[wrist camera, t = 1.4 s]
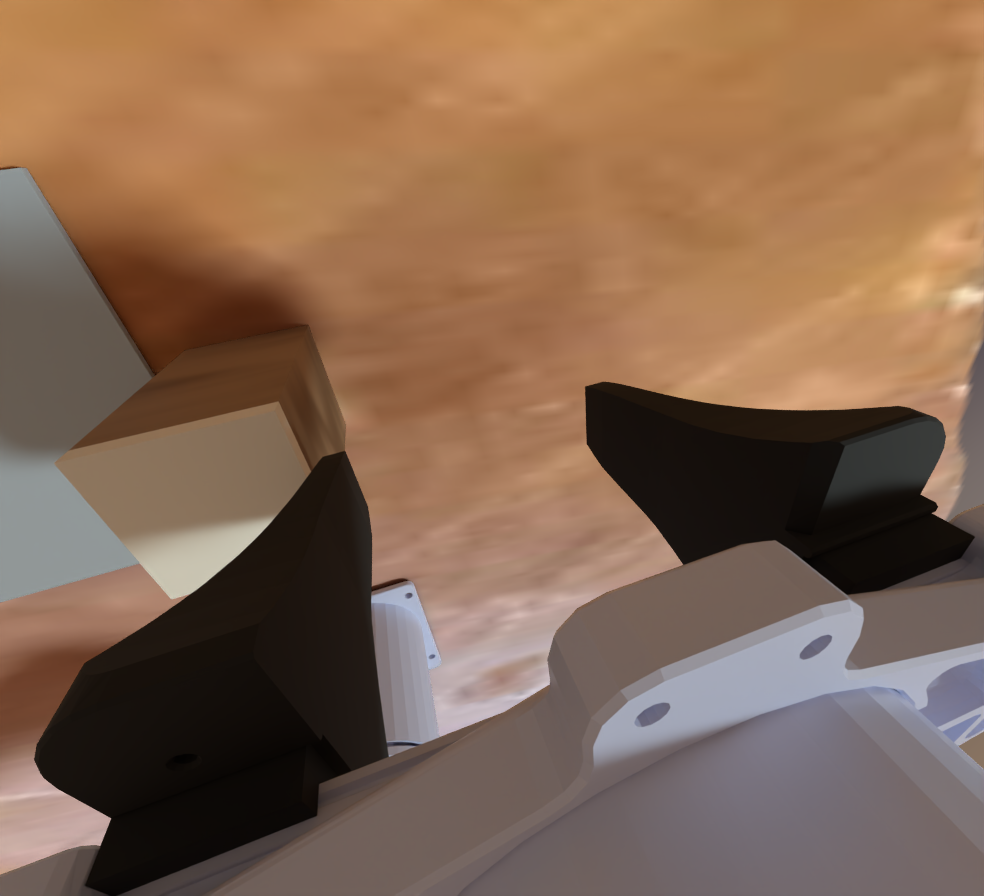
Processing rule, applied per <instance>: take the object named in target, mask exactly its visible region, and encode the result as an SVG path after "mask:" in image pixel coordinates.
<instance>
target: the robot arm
mask: <svg viewBox="0 0 984 896" xmlns="http://www.w3.org/2000/svg"><path fill="white" fill-rule="evenodd" d="M585 396H586V434H587V445H588V446H589V448H590V450H591V451H592V453H593V454H594V456H595V457H596V459H597V460H598V462H599V463H600V464H601V466H602V467H603V468H604V470H605V471H606V472H607V473H608V474H609V475H610V476H611V477H612V478H613V480H614V481H615V482H616V483H617V484H618V485H619V486H620V487H621V488H622V489H623V490H624V491H625V493H626V494H627V495H628V496H629V497H630V498H631V499H632V500H633V501H634V502H635V503H636V504H637V505H638V507H639V508H640V509H641V510H642V511H643V512H644V513H645V514H646V515H647V516H648V518H649V519H650V520H651V521H652V522H653V523H654V525H655V526H656V527H657V529H658V530H659V531H660V533H661V534H662V535H663V537H664V538H665V539H666V541H667V542H668V544H669V545H670V546H671V548H672V549H673V550H674V552H675V553H676V555H677V556H678V558H679V559H680V561H681V562H682V563H683V565H682V566H679V567H677V568H674V569H671V570H668V571H665V572H663V573H660V574H657V575H654V576H651V577H648V578H646V579H643V580H640V581H637V582H634V583H632V584H629V585H626V586H623V587H620V588H617V589H615V590H612V591H609V592H606V593H605V594H603V595H601V596H599V597H597V598H595V599H594V600H592V601H590V602H588V603H586V604H584V605H583V606H581V607H579V608H577V609H576V610H575V611H574V613H573V614H572V615H571V616H570V617H569V618H568V619H567V620H566V621H565V622H564V623H563V624H562V625H561V626H560V628H559V629H558V630H557V631H556V633H555V635H554V638H553V641H552V645H551V649H550V652H549V656H548V667H549V675H550V685H548V686H547V687H545V688H543V689H542V690H540V691H538V692H537V693H535V694H533V695H532V696H530V697H528V698H527V699H525V700H523V701H522V702H520V703H519V704H517V705H515V706H514V707H512V708H510V709H509V710H507V711H505V712H503V713H501V714H498V715H495V716H493V717H490V718H488V719H485V720H483V721H480V722H477V723H475V724H472V725H470V726H467V727H465V728H462V729H459V730H457V731H454V732H452V733H449V734H447V735H444V736H441V737H439V731H438V724H437V718H436V712H435V705H434V699H433V693H432V687H431V680H430V674H429V670H431V669H433V668H436V667H438V666H439V665H440V664H441V658H440V655H439V652H438V649H437V647H436V644H435V641H434V638H433V636H432V633H431V630H430V627H429V625H428V622H427V619H426V616H425V614H424V611H423V608H422V605H421V603H420V600H419V597H418V594H417V592H416V589H415V586H414V584H413V582H411V581H404V582H401V583H398V584H395V585H391V586H388V587H385V588H382V589H379V590H376V591H373V592H371V591H372V533H371V525H370V518H369V511H368V506H367V503H366V501H365V499H364V496H363V494H362V491H361V489H360V486H359V484H358V481H357V479H356V476H355V474H354V471H353V469H352V466H351V464H350V462H349V459H348V457H347V454H346V452H345V451H342V452H339V453H335V454H331V455H327V456H324V457H322V458H321V459H320V460H319V462H318V463H317V464H316V466H315V467H314V468H313V470H312V471H311V473H310V474H309V475H308V477H307V478H306V479H305V481H304V482H303V483H302V485H301V486H300V487H299V489H298V490H297V491H296V493H295V494H294V495H293V497H292V498H291V499H290V500H289V502H288V503H287V504H286V505H285V506H284V507H283V509H282V510H281V511H280V512H279V513H278V515H277V516H276V517H275V518H274V519H273V520H272V522H271V523H270V524H269V525H268V526H267V527H266V528H265V529H264V530H263V531H262V533H261V534H260V535H259V536H258V537H257V538H256V539H255V540H254V541H253V542H252V543H250V544H249V545H248V546H247V547H246V548H245V549H244V550H243V551H242V552H241V553H240V554H239V555H238V556H237V557H236V558H234V559H233V560H232V561H231V562H230V563H228V564H227V565H226V566H225V567H224V568H222V569H221V570H220V571H219V572H218V573H216V574H215V575H214V576H213V577H212V578H210V579H209V580H208V581H207V582H206V583H205V584H203V585H202V586H201V587H199V588H198V589H197V590H195V591H194V592H193V593H191V594H190V595H189V596H187V597H186V598H185V599H183V600H182V601H181V602H179V603H178V604H176V605H175V606H173V607H172V608H171V609H169V610H168V611H166V612H165V613H163V614H162V615H161V616H159V617H158V618H156V619H155V620H153V621H152V622H150V623H149V624H147V625H146V626H144V627H143V628H141V629H139V630H138V631H136V632H135V633H133V634H131V635H130V636H128V637H127V638H125V639H123V640H122V641H120V642H119V643H117V644H115V645H114V646H112V647H111V648H109V649H107V650H106V651H104V652H102V653H101V654H99V655H98V656H96V657H94V658H93V659H91V660H89V661H87V662H86V663H84V665H83V667H82V668H81V670H80V672H79V674H78V675H77V677H76V679H75V680H74V682H73V684H72V685H71V687H70V689H69V691H68V692H67V694H66V696H65V697H64V699H63V701H62V703H61V704H60V706H59V708H58V709H57V711H56V713H55V715H54V716H53V718H52V720H51V721H50V723H49V725H48V726H47V728H46V730H45V732H44V733H43V735H42V737H41V738H40V740H39V742H38V744H37V747H36V752H35V758H34V761H35V763H36V765H37V767H38V769H39V771H40V773H41V775H42V776H43V778H44V779H46V780H47V781H48V782H50V783H51V784H52V785H53V786H55V787H56V788H57V789H59V790H61V791H63V792H64V793H66V794H68V795H70V796H72V797H74V798H75V799H77V800H79V801H81V802H83V803H84V804H86V805H88V806H90V807H92V808H94V809H95V810H97V811H99V812H101V813H103V814H104V815H106V816H108V817H110V818H111V821H110V823H109V826H108V828H107V831H106V833H105V836H104V839H103V841H102V844H101V846H97V845H91V846H80V847H76V848H72V849H68V850H65V851H62V852H60V853H57V854H54V855H52V856H49V857H46V858H44V859H41V860H39V861H36V862H33V863H31V864H28V865H25V866H23V867H20V868H17V869H15V870H12V871H9V872H7V873H4V874H1V875H0V896H984V769H983V768H982V767H981V766H980V765H978V764H977V763H976V762H975V761H974V760H973V759H972V758H971V757H969V756H968V755H967V754H966V753H965V752H964V751H963V750H962V749H961V748H959V747H958V746H959V745H961V744H963V743H964V742H966V741H968V740H969V739H971V738H973V737H975V736H976V735H978V734H980V733H982V732H983V731H984V504H982V505H980V506H977V507H974V508H971V509H969V510H966V511H964V512H962V513H960V514H958V515H957V516H955V517H954V518H953V519H952V520H951V521H950V522H947V521H945V520H943V519H941V518H939V517H937V516H936V515H934V514H932V513H933V512H935V511H936V509H937V508H938V506H937V504H936V503H935V502H934V501H932V500H930V499H928V498H926V497H924V496H922V495H920V494H921V492H922V490H923V488H924V487H925V485H926V483H927V481H928V479H929V477H930V475H931V473H932V472H933V470H934V468H935V466H936V464H937V462H938V460H939V458H940V456H941V453H942V451H943V449H944V444H945V438H946V435H945V431H944V427H943V424H942V423H941V422H940V421H939V420H938V419H937V418H935V417H933V416H930V415H927V414H924V413H922V412H919V411H916V410H914V409H911V408H907V407H901V406H893V407H878V408H863V409H848V410H808V411H805V410H771V409H754V408H742V407H733V406H725V405H717V404H710V403H704V402H698V401H693V400H688V399H683V398H678V397H673V396H669V395H664V394H660V393H656V392H652V391H647V390H643V389H639V388H635V387H631V386H626V385H622V384H617V383H611V382H601V383H597V384H593V385H590V386H586V387H585ZM407 593H409V594H407Z"/></svg>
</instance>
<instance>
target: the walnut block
mask: <svg viewBox="0 0 984 896" xmlns="http://www.w3.org/2000/svg"><path fill="white" fill-rule="evenodd" d="M345 432H346V424H345V421H344V418H343V416H342V413H341V410H340V408H339V405H338V402H337V400H336V397H335V394H334V392H333V389H332V387H331V384H330V381H329V379H328V376H327V373H326V371H325V368H324V365H323V363H322V360H321V357H320V355H319V352H318V349H317V347H316V344H315V342H314V339H313V336H312V334H311V331H310V328H309V326H308V325H304V326H300V327H295V328H290V329H285V330H280V331H276V332H271V333H266V334H261V335H256V336H252V337H247V338H242V339H237V340H232V341H228V342H223V343H218V344H213V345H208V346H204V347H199V348H194V349H189V350H184V351H183V352H182V353H181V354H180V355H179V356H177V357H176V358H175V359H174V360H173V361H172V362H171V363H169V364H168V365H167V366H166V367H165V368H164V369H162V370H161V371H160V372H159V373H158V374H157V375H155V376H154V377H153V378H152V379H151V380H150V381H148V382H147V383H146V384H145V385H144V386H143V387H142V388H140V389H139V390H138V391H137V392H136V393H135V394H133V395H132V396H131V397H130V398H129V399H128V400H126V401H125V402H124V403H123V404H122V405H121V406H119V407H118V408H117V409H116V410H115V411H114V412H112V413H111V414H110V415H109V416H108V417H107V418H106V419H104V420H103V421H102V422H101V423H100V424H99V425H97V426H96V427H95V428H94V429H93V430H92V431H90V432H89V433H88V434H87V435H86V436H85V437H83V438H82V439H81V440H80V441H79V442H78V443H77V444H75V445H74V446H73V447H72V448H71V449H70V450H68V451H67V452H66V453H65V454H64V455H63V456H61V457H60V458H59V459H58V460H57V461H56V462H54V464H55V466H56V467H57V468H58V469H59V470H60V471H61V472H62V474H63V475H64V476H65V477H66V478H67V479H68V481H69V482H70V483H71V484H72V485H73V486H74V487H75V489H76V490H77V491H78V492H79V493H80V494H81V496H82V497H83V498H84V499H85V500H86V501H87V503H88V504H89V505H90V506H91V507H92V508H93V509H94V511H95V512H96V513H97V514H98V515H99V516H100V518H101V519H102V520H103V521H104V522H105V523H106V524H107V526H108V527H109V528H110V529H111V530H112V531H113V533H114V534H115V535H116V536H117V537H118V538H119V539H120V541H121V542H122V543H123V544H124V545H125V546H126V548H127V549H128V550H129V551H130V552H131V553H132V555H133V556H134V557H135V558H136V559H137V560H138V561H139V563H140V564H141V565H142V566H143V567H144V568H145V570H146V571H147V572H148V573H149V574H150V575H151V576H152V578H153V579H154V580H155V581H156V582H157V583H158V585H159V586H160V587H161V588H162V589H163V590H164V591H165V593H166V594H167V595H168V596H169V597H170V598H171V599H175V598H178V597H181V596H185V595H188V594H191V593H193V592H194V591H195V590H197V589H198V588H199V587H201V586H202V585H203V584H205V583H206V582H207V581H208V580H209V579H210V578H212V577H213V576H214V575H215V574H216V573H218V572H219V571H220V570H221V569H222V568H224V567H225V566H226V565H227V564H228V563H230V562H231V561H232V560H233V559H234V558H236V557H237V556H238V555H239V554H240V553H241V552H242V551H243V550H244V549H245V548H246V547H247V546H248V545H249V544H250V543H252V542H253V541H254V540H255V539H256V538H257V537H258V536H259V535H260V534H261V533H262V531H263V530H264V529H265V528H266V527H267V526H268V525H269V524H270V523H271V522H272V520H273V519H274V518H275V517H276V516H277V515H278V513H279V512H280V511H281V510H282V509H283V507H284V506H285V505H286V504H287V503H288V502H289V500H290V499H291V498H292V497H293V495H294V494H295V493H296V491H297V490H298V489H299V487H300V486H301V485H302V483H303V482H304V481H305V479H306V478H307V477H308V475H309V474H310V473H311V471H312V470H313V468H314V467H315V466H316V464H317V463H318V462H319V460H320V459H321V458H322V457H324V456H327V455H331V454H335V453H339V452H342V451H345Z"/></svg>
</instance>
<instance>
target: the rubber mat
mask: <svg viewBox="0 0 984 896" xmlns="http://www.w3.org/2000/svg"><path fill="white" fill-rule="evenodd" d="M154 376H155V375H154V373H153V372H152V370H151V369H150V367H149V365H148V364H147V362H146V361H145V359H144V357H143V356H142V354H141V352H140V351H139V349H138V348H137V346H136V344H135V343H134V341H133V340H132V338H131V336H130V335H129V333H128V331H127V330H126V328H125V327H124V325H123V323H122V322H121V320H120V319H119V317H118V315H117V314H116V312H115V310H114V309H113V307H112V306H111V304H110V302H109V301H108V299H107V298H106V296H105V294H104V293H103V291H102V289H101V288H100V286H99V285H98V283H97V281H96V280H95V278H94V277H93V275H92V273H91V272H90V270H89V268H88V267H87V265H86V264H85V262H84V260H83V259H82V257H81V255H80V254H79V252H78V251H77V249H76V247H75V246H74V244H73V243H72V241H71V239H70V238H69V236H68V234H67V233H66V231H65V230H64V228H63V226H62V225H61V223H60V222H59V220H58V218H57V217H56V215H55V213H54V212H53V210H52V209H51V207H50V205H49V204H48V202H47V201H46V199H45V197H44V196H43V194H42V192H41V191H40V189H39V188H38V186H37V184H36V183H35V181H34V180H33V178H32V176H31V175H30V173H29V171H28V170H27V168H13V169H6V170H0V602H4V601H7V600H11V599H14V598H18V597H21V596H25V595H29V594H32V593H36V592H39V591H43V590H46V589H50V588H53V587H57V586H61V585H64V584H68V583H71V582H75V581H78V580H82V579H86V578H89V577H93V576H96V575H100V574H103V573H107V572H110V571H114V570H118V569H121V568H125V567H128V566H132V565H135V564H139V561H138V560H137V559H136V558H135V557H134V556H133V555H132V553H131V552H130V551H129V550H128V549H127V548H126V546H125V545H124V544H123V543H122V542H121V541H120V539H119V538H118V537H117V536H116V535H115V534H114V533H113V531H112V530H111V529H110V528H109V527H108V526H107V524H106V523H105V522H104V521H103V520H102V519H101V518H100V516H99V515H98V514H97V513H96V512H95V511H94V509H93V508H92V507H91V506H90V505H89V504H88V503H87V501H86V500H85V499H84V498H83V497H82V496H81V494H80V493H79V492H78V491H77V490H76V489H75V487H74V486H73V485H72V484H71V483H70V482H69V481H68V479H67V478H66V477H65V476H64V475H63V474H62V472H61V471H60V470H59V469H58V468H57V467H56V466H55V464H54V462H56V461H57V460H58V459H59V458H60V457H61V456H63V455H64V454H65V453H66V452H67V451H68V450H70V449H71V448H72V447H73V446H74V445H75V444H77V443H78V442H79V441H80V440H81V439H82V438H83V437H85V436H86V435H87V434H88V433H89V432H90V431H92V430H93V429H94V428H95V427H96V426H97V425H99V424H100V423H101V422H102V421H103V420H104V419H106V418H107V417H108V416H109V415H110V414H111V413H112V412H114V411H115V410H116V409H117V408H118V407H119V406H121V405H122V404H123V403H124V402H125V401H126V400H128V399H129V398H130V397H131V396H132V395H133V394H135V393H136V392H137V391H138V390H139V389H140V388H142V387H143V386H144V385H145V384H146V383H147V382H148V381H150V380H151V379H152V378H153V377H154Z"/></svg>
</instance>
